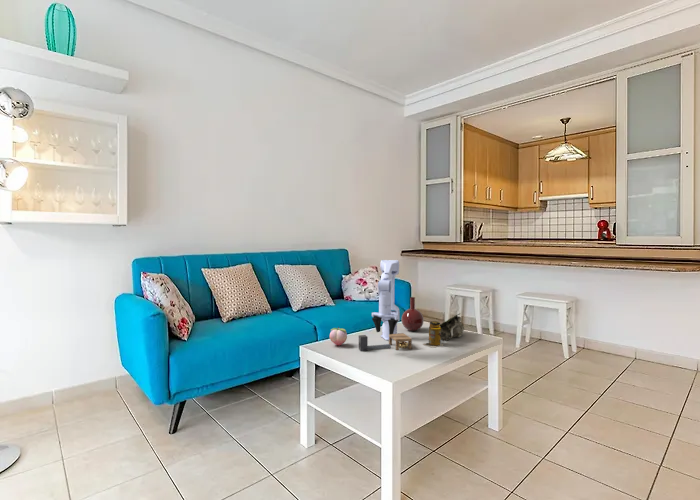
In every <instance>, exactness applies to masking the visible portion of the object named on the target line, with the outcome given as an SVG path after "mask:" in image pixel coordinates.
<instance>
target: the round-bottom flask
mask: <svg viewBox="0 0 700 500" xmlns="http://www.w3.org/2000/svg"><path fill="white" fill-rule="evenodd" d="M409 298H410V299H409V300H410V303H409V304H410V305H409V306H410V307H409V308H408V309H406V310H405V311H404V312H403V313H402V315H401V324H402V326H403V327H404V328H405V329H406V330H407V331H410V332H416V331H418V330H420V329H421V328H422V327H423V325H424V322H425V321H424V320H425V319H424V316H423V314H422V312H421V311H420V310H418V309H417V308H416V302H415V300H416V297H414V296H413V297H412V296H411V297H409Z"/></svg>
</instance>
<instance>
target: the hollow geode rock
mask: <svg viewBox="0 0 700 500" xmlns="http://www.w3.org/2000/svg"><path fill="white" fill-rule="evenodd" d="M459 315H461V313H458V314H455V315H454V316H452V317H450V318H449V319H447V320H445V321H444V322H442V323H440V328H441V340H442V341H443V342H447V341H449V340H450V339H452V338H454V337H458V338H459V337H461V336H462V335H463V332H464V331H465V326H464V324H463V323H462V317H461V316H459Z"/></svg>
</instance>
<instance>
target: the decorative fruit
mask: <svg viewBox="0 0 700 500" xmlns="http://www.w3.org/2000/svg"><path fill="white" fill-rule="evenodd" d="M347 339H348V333H347V330H346V329H345V328H340V327H339V326H338V327H333V328H331V329H330V333H329V340H330V341H331V342H332V343H333V344H334V345H336V346H342V345H343V344H345V342H347Z"/></svg>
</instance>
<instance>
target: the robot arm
mask: <svg viewBox="0 0 700 500" xmlns="http://www.w3.org/2000/svg"><path fill="white" fill-rule="evenodd" d="M379 265H380V271H381V275H380V280H379V281H378V282H377V291H378V296H379V297H378V300H379V301H378V312H375V311H374V312H373V311H372V312H371V317H372V318H371V319H372V322H373V324H374V327H375V330H376V333H380V332H381V333H382V335H380V337H381V338H382V339H384V340H385V341H389V334H398V323H399V322H400V320H401V319H400V316H401V315H400V308H399V306H397V305H396V304H395V286H396V285H395V278H396V276H397V275H399V273H400V260H398V259H390V260H389V259H381V260H380V264H379ZM382 322H383V323H382ZM381 325H382V327H381ZM392 341H394V340H393V339H392Z"/></svg>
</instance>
